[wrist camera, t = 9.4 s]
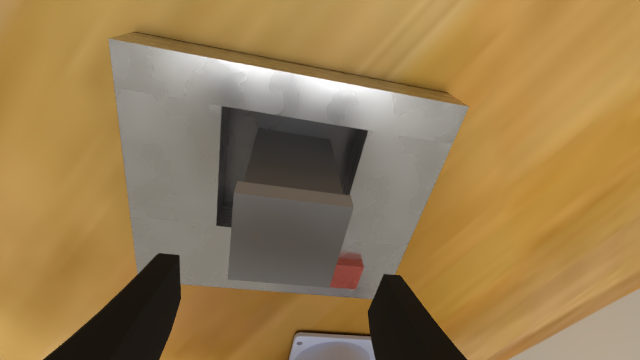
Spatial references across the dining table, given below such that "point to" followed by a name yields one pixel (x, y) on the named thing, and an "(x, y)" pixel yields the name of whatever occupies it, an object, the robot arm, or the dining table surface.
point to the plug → (288, 212)
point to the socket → (237, 143)
